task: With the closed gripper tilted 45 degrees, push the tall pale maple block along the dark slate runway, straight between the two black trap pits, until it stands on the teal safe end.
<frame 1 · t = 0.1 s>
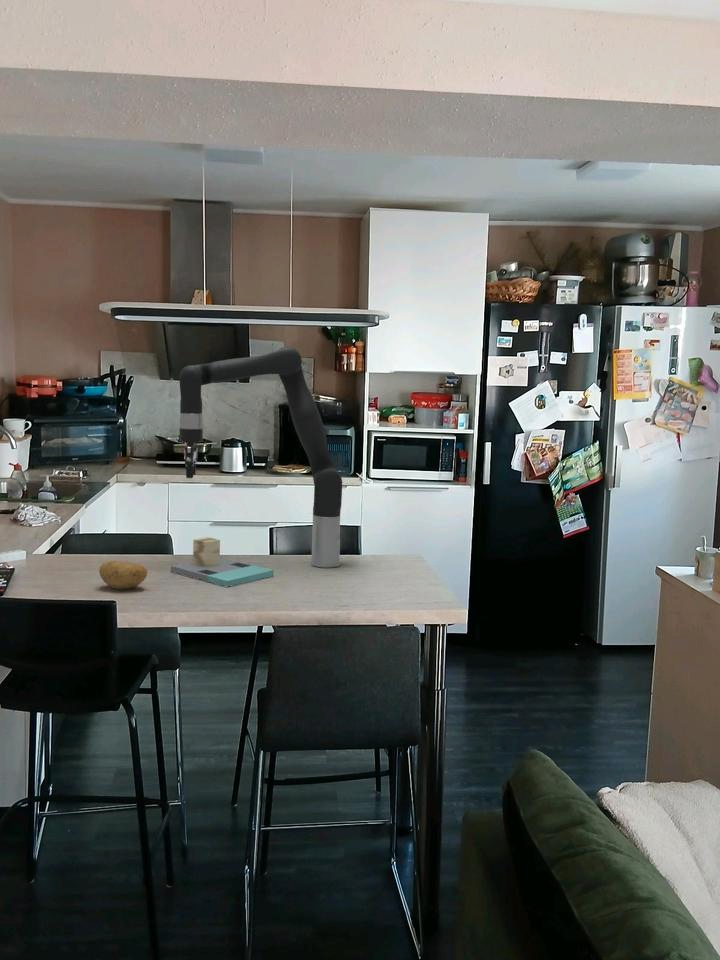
hand: (190, 476, 285), 29 cm above the table, tool pointing down, fingers open, 8 cm apart
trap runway: (222, 574, 277), on the table
potato: (123, 589, 256), on the table
maple block: (206, 563, 282), point 2 cm above the table, touching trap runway
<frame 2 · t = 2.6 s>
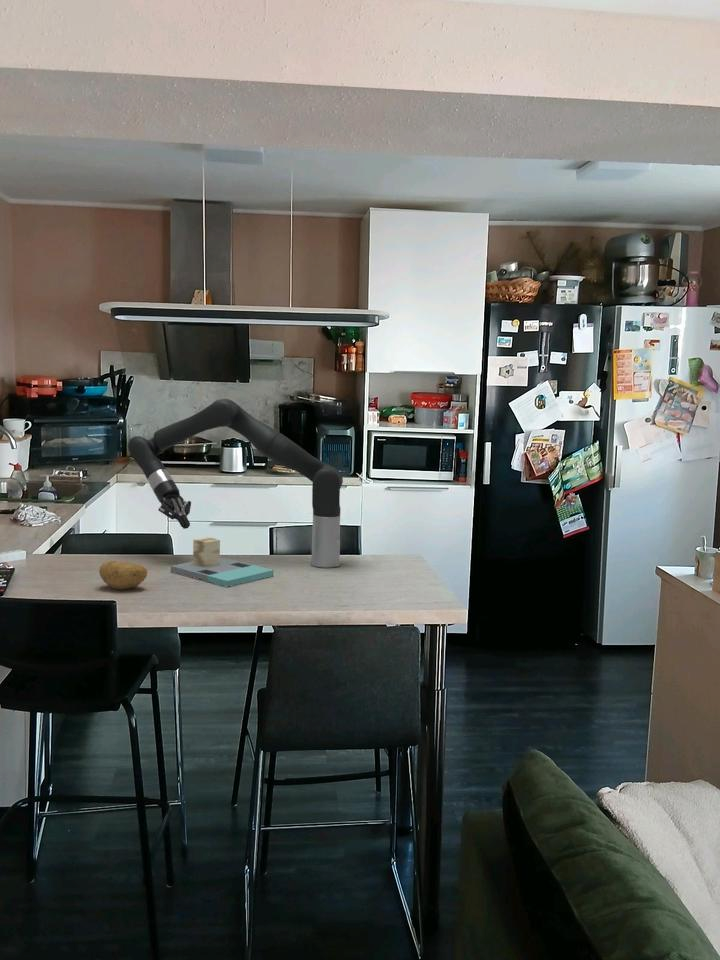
hand: (187, 527, 286), 13 cm above the table, tool tilted 45°, fingers closed
nothing on the table moved.
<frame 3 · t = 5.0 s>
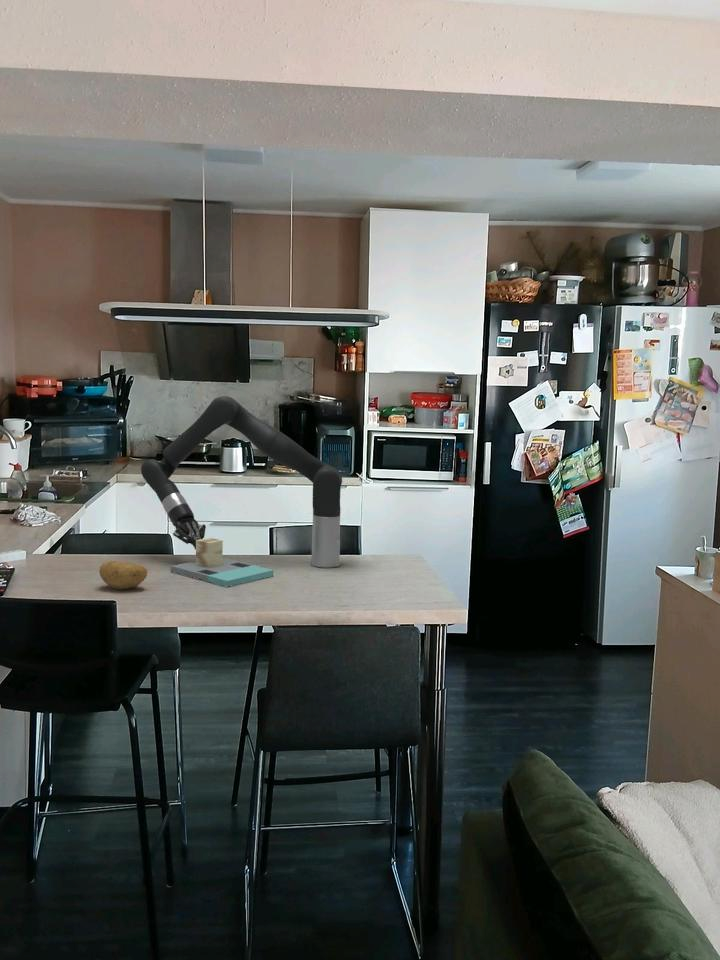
hand: (202, 551, 283), 6 cm above the table, tool tilted 45°, fingers closed
maple block: (209, 564, 281), point 2 cm above the table, touching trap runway
everything else where it was.
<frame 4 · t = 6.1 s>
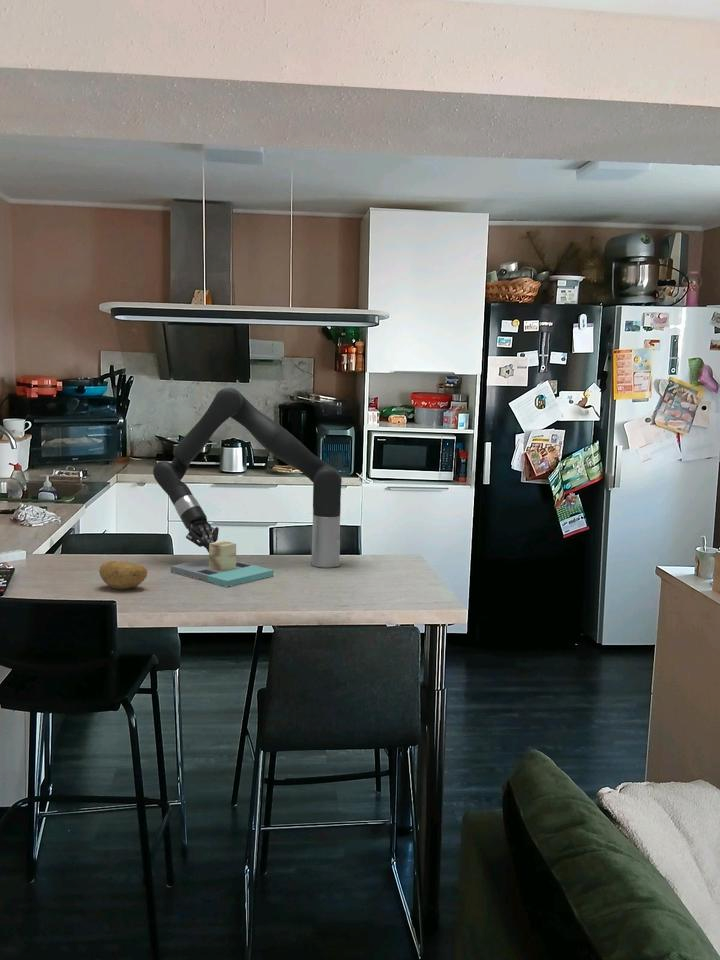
hand: (215, 554, 279), 6 cm above the table, tool tilted 45°, fingers closed
maple block: (222, 568, 277), point 2 cm above the table, touching gripper, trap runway
everything else where it was.
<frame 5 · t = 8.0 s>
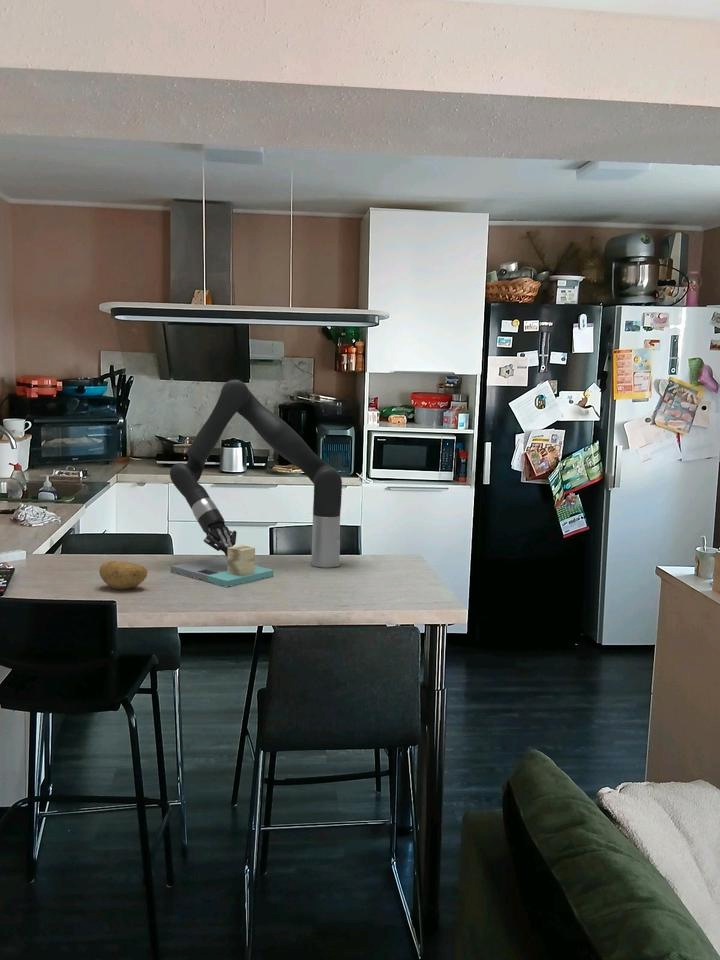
hand: (233, 558, 273), 6 cm above the table, tool tilted 45°, fingers closed
maple block: (240, 572, 272), point 2 cm above the table, touching gripper
everything else where it was.
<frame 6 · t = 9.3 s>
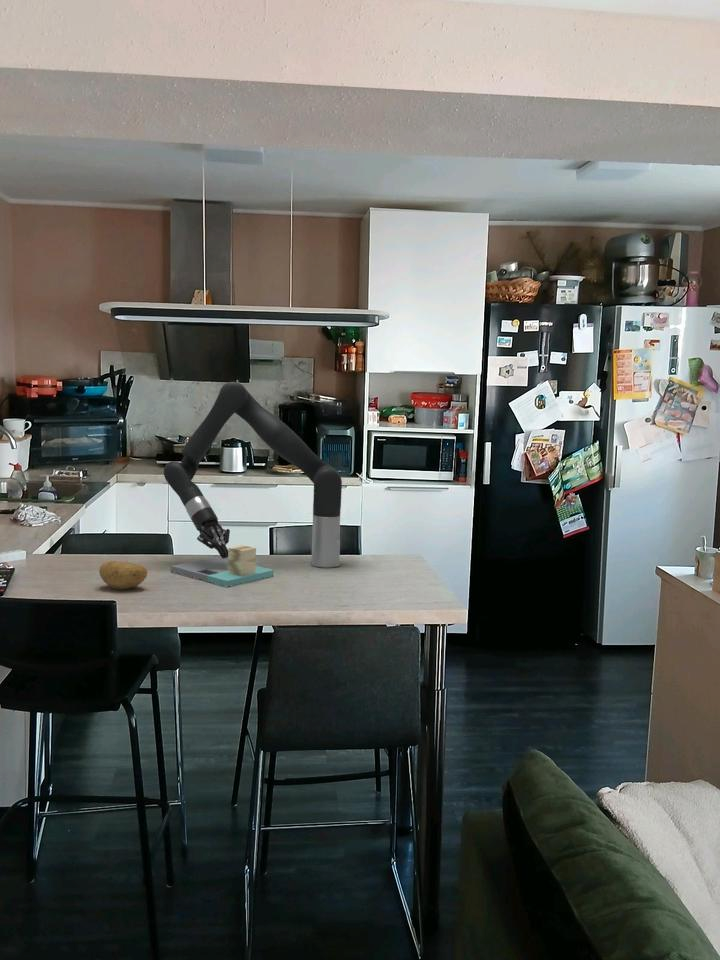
hand: (226, 556, 275), 6 cm above the table, tool tilted 45°, fingers closed
maple block: (241, 573, 271), point 2 cm above the table, touching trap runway
everything else where it was.
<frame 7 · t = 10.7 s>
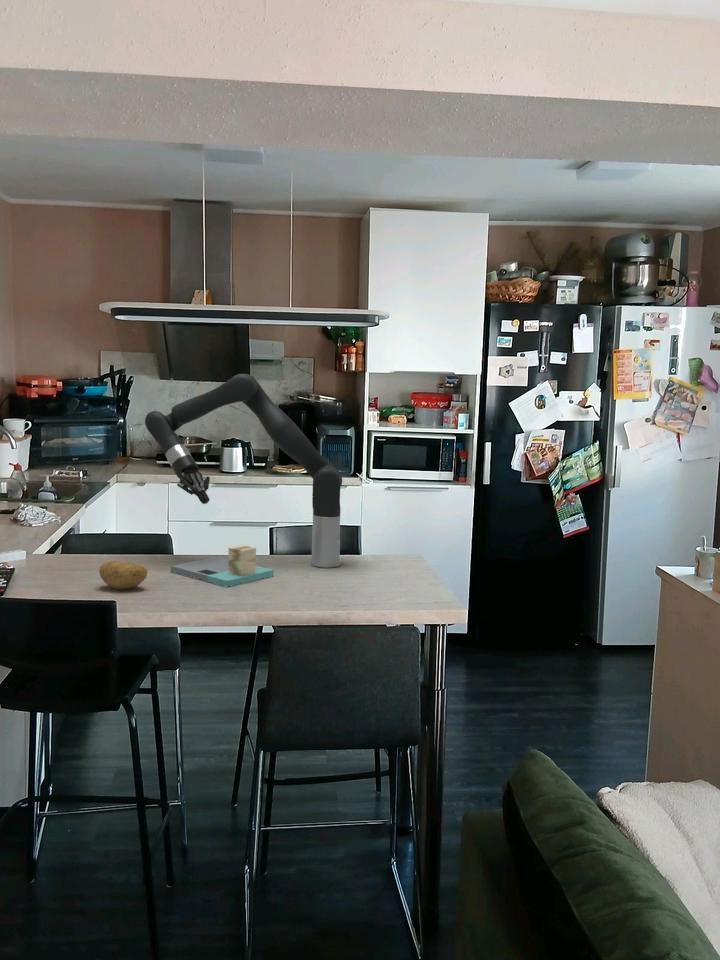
hand: (206, 502, 282), 22 cm above the table, tool tilted 45°, fingers closed
nothing on the table moved.
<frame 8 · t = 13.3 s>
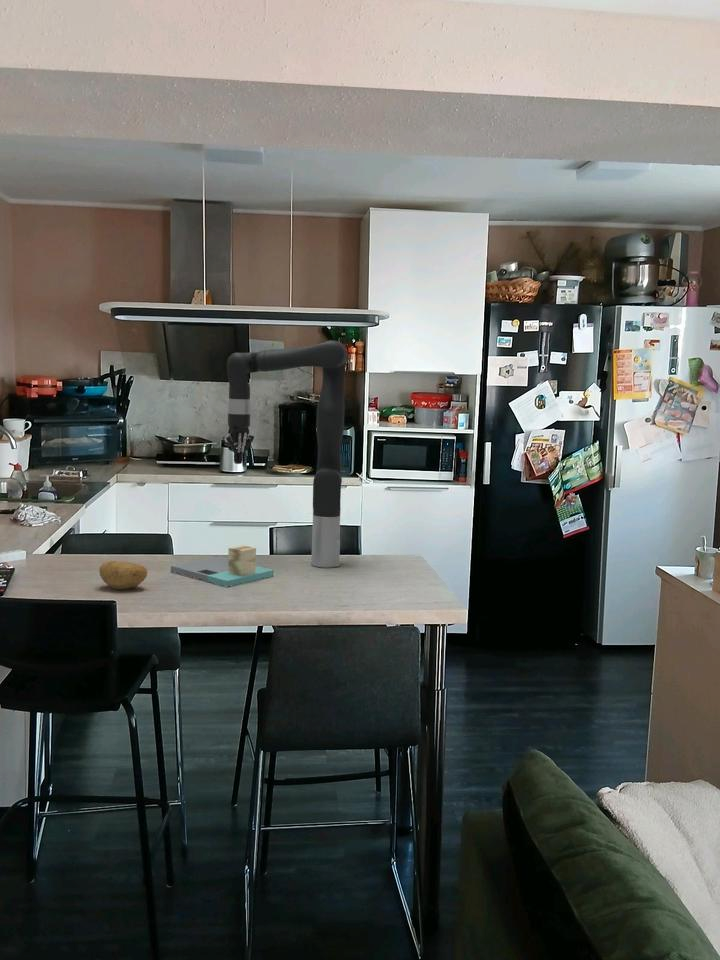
hand: (238, 463, 295), 33 cm above the table, tool pointing down, fingers closed
nothing on the table moved.
at the end: maple block inside the target area (0.9 cm from its centre), point 2.0 cm above the table; maple block tilted 0°; maple block moved 16.5 cm from its start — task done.
